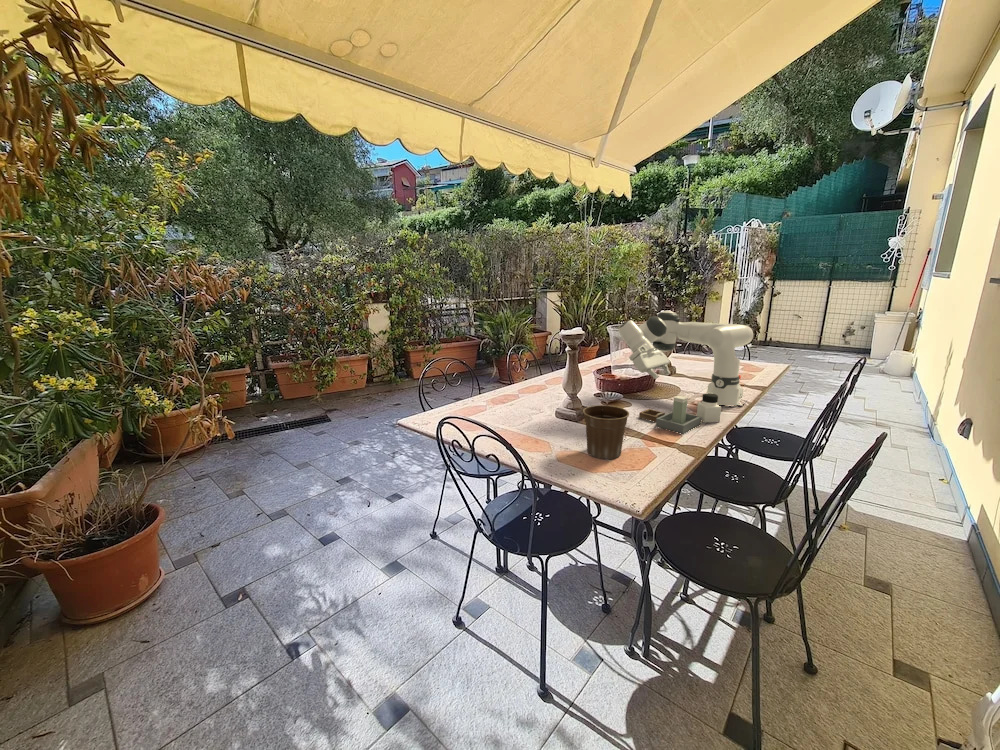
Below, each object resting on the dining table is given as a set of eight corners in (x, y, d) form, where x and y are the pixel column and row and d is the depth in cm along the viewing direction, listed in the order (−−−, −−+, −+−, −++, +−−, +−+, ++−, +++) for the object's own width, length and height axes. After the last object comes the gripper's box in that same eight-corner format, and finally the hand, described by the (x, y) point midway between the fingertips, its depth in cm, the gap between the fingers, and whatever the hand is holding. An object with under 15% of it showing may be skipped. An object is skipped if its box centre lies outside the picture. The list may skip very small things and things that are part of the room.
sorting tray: (674, 418, 187) (674, 410, 186) (700, 425, 178) (701, 416, 178) (655, 426, 177) (656, 418, 176) (682, 434, 168) (683, 425, 168)
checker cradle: (648, 413, 194) (648, 407, 193) (664, 418, 188) (665, 412, 187) (639, 417, 189) (639, 411, 188) (655, 422, 183) (656, 416, 182)
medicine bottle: (719, 422, 181) (722, 396, 178) (703, 422, 181) (706, 396, 178) (711, 416, 188) (714, 391, 185) (696, 417, 188) (698, 391, 185)
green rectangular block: (676, 421, 181) (678, 395, 178) (685, 424, 178) (687, 397, 175) (671, 423, 178) (673, 397, 175) (680, 426, 175) (683, 399, 172)
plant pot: (594, 440, 164) (595, 402, 160) (633, 450, 154) (636, 409, 150) (573, 454, 152) (574, 413, 148) (615, 466, 142) (617, 422, 138)
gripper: (652, 352, 193) (670, 376, 188) (626, 358, 181) (645, 384, 176) (661, 344, 189) (680, 368, 184) (636, 349, 176) (655, 376, 171)
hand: (662, 376), depth 180 cm, fingers open, 8 cm apart
